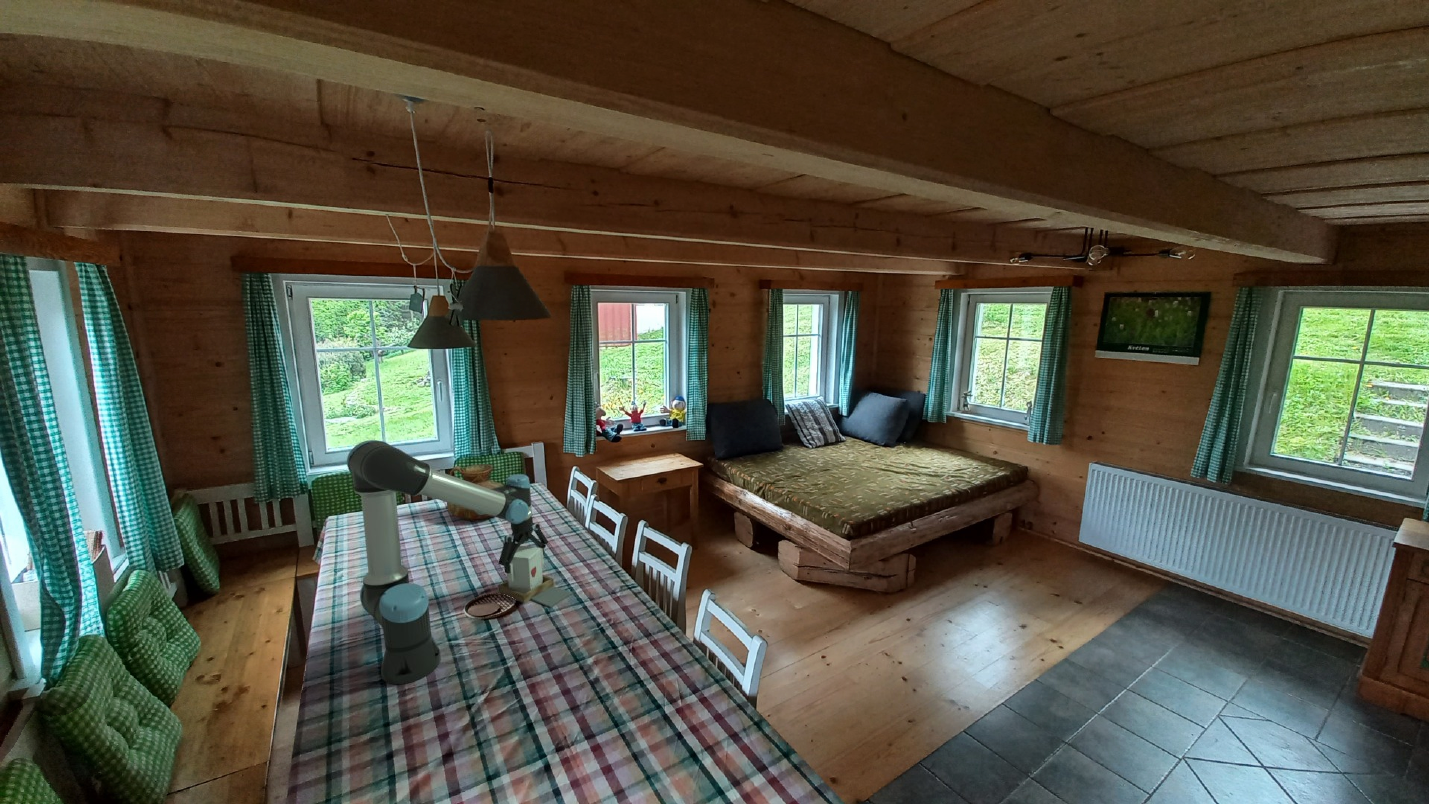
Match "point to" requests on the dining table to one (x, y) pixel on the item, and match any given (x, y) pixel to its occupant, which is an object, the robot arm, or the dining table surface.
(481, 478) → the jug
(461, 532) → the dining table surface
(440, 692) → the dining table surface
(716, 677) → the dining table surface
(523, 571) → the supplement box
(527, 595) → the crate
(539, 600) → the coaster
